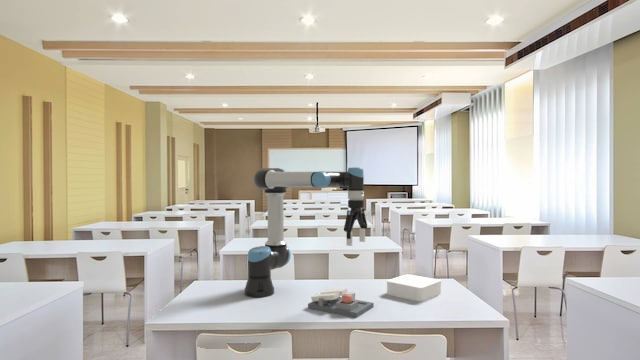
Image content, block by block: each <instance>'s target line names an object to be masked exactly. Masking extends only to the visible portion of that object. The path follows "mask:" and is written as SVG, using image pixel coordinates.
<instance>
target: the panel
mask: <svg viewBox="0 0 640 360" xmlns="http://www.w3.org/2000/svg"><path fill="white" fill-rule="evenodd" d="M374 304H375V303H374V302H372V301H371V302H370V301H365V300H360V299H355V300H352V304H344V303H342V296H339V297H338V298H336V299H334V300H324V299H321V298H319V301H311V302H309V303H308V304H307V308H308V309H311V310H317V311H321V312H326V313H331V314H336V315H341V316H347V317H350V318H355V319H356V318H359V317H360V316H362V315H363V314H366V312H368V311H369V310H372V309H373V308H374Z"/></svg>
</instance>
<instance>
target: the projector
mask: <svg viewBox="0 0 640 360" xmlns="http://www.w3.org/2000/svg"><path fill="white" fill-rule="evenodd" d="M441 281H442V280H441V279H437V278H432V277H427V276H421V275H420V276H419V275H415V274H411V273H410V274H409V273H408V274H403V275H400V276H396V277H393V278H390V279H387V280H386V295H389V296H393V297H398V298H401V299H406V300H410V301H414V302H425V301H428V300H431V299H432V298H435V297H437V296H439V295H441V294H442V287H441V286H442V284H441V283H442V282H441Z"/></svg>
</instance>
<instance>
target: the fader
mask: <svg viewBox="0 0 640 360" xmlns="http://www.w3.org/2000/svg"><path fill="white" fill-rule="evenodd" d="M348 294H351V295H352V300H356V293H355V292H349V293H348Z"/></svg>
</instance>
